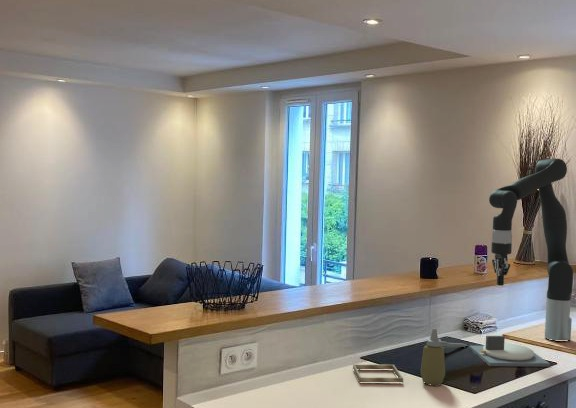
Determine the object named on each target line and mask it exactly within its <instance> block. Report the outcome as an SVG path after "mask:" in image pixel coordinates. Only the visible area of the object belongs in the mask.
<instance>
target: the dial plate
mask: <svg viewBox="0 0 576 408" xmlns="http://www.w3.org/2000/svg"><path fill="white" fill-rule="evenodd" d="M483 346H484V345H468V348H470V349H471V350H472V351H471V350H470V349H469V350H470V351H471V352H473V353H474V354H475V355H476V354H477V355H478V356H479V358H480V360H482V361H483V362H484V363H485V362H486V363H485V364H486V365H487V366H489V367H539V368H540V367H543V368H544V367H548V368H549V367H550V366H551V365H550V362H548V361H547V360H546V359H545V358H543V357H541V356H539V355H538V354H537V353H535V352H534V357H533V358H532V359H529V360H521V361H516V360H505V359H499V358H495V357H491V356H489V355H487V354H485V353H481V350H483ZM523 346H524V347H526V346H525V345H523ZM477 355H476V356H477ZM478 356H477V357H478Z"/></svg>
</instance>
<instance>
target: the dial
mask: <svg viewBox="0 0 576 408" xmlns="http://www.w3.org/2000/svg"><path fill="white" fill-rule="evenodd" d="M505 338H506V337H505V335H486V336H485V344H484V345H482V346H483V350H481V353H485V354H487V355H489V356H491V357H495V358H499V359H505V360H516V361H521V360H529V359H532V358H533V357H534V353H535V352H534V350H533V349H532V348H530V347H527V346H525V345H521V344H516V343H509V342H505ZM524 346H525V347H524Z"/></svg>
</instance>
